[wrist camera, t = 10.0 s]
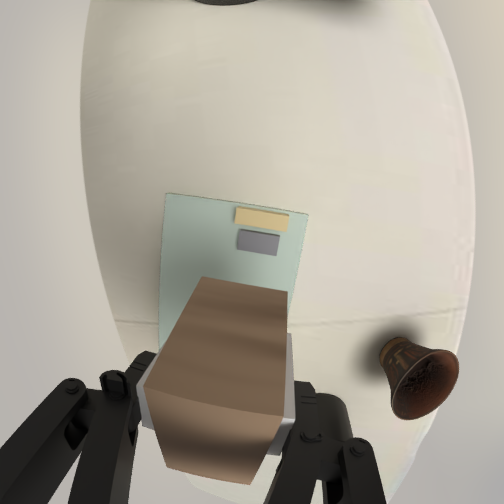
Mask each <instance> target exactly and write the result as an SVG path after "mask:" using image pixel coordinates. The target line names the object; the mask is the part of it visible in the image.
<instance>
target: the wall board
mask: <svg viewBox="0 0 504 504" xmlns="http://www.w3.org/2000/svg"><path fill="white" fill-rule="evenodd" d="M307 221H308V214H304V213H299V212H293V211H287V210H282V209H276V208H270V207H264V206H258V205H251V204H245V203H238V202H232V201H225V200H218V199H211V198H204V197H197V196H189V195H181V194H173V193H166V201H165V210H164V221H163V233H162V246H161V263H160V285H159V350H160V349H161V347H162V346H163V344H164V343H165V341H166V340H167V338H168V337H169V335H170V333H171V331H172V330H173V328H174V326H175V324H176V322H177V320H178V318H179V317H180V315H181V313H182V311H183V309H184V307H185V306H186V304H187V302H188V300H189V298H190V297H191V295H192V293H193V291H194V289H195V287H196V286H197V284H198V282H199V280H200V279H201V277H202V276H204V277H209V278H214V279H220V280H225V281H231V282H236V283H242V284H247V285H253V286H259V287H265V288H270V289H276V290H282V291H288V304H287V317H288V312H289V308H290V304H291V299H292V295H293V290H294V285H295V281H296V276H297V271H298V267H299V262H300V257H301V252H302V247H303V242H304V236H305V231H306V226H307Z"/></svg>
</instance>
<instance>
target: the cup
mask: <svg viewBox="0 0 504 504" xmlns="http://www.w3.org/2000/svg"><path fill="white" fill-rule="evenodd" d="M380 364H381V366H382V367H383V368H384V370H385V373H386V375H387V378H388V381H389V385H390V389H391V407H392V410H393V412H394V414H395V415H396V416H397V417H398V418H400V419H403V420H414V419H418V418H420V417H423V416H425V415H427V414H429V413H430V412H432V411H433V410H435V409H436V408H437V407H438V406H440V405H441V404H442V403H443V402H444V401H445V400H446V398H447V397H448V395H449V394H450V393H451V391H452V390H453V388H454V385H455V383H456V381H457V378H458V374H459V362H458V359H457V357H456V356H455V354H453V353H452V352H450V351H448V350H441V349H429V348H426V347H422V346H419V345H416V344H414V343H412V342H410V341H409V340H407V339H406V338H402V337H399V338H395V339H393V340H391V341H389V342H388V343H387V344H386V345H385V347H384V348H383V349H382V351H381V354H380Z"/></svg>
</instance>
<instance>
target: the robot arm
mask: <svg viewBox="0 0 504 504" xmlns="http://www.w3.org/2000/svg"><path fill="white" fill-rule="evenodd" d="M196 1H199V2H202V3H207V4H215V5H231V4H241V3H247V2H251V1H255V0H196ZM167 339H168V338H167ZM166 341H167V340H166ZM166 341H165V343H166ZM165 343H164V344H163V346H164V345H165ZM163 346H162V347H161V349H160V350H159V352H158V353H157V354H155V353H152V352H148V351H144V352H142V353H141V354H139V355H138V356H137V357H136V358H135V359H134V361H133V362H132V363H131V365H130V367H128V369H127V370H126V371H125V373H124V372H121V371H118V370H110V371H106V372H104V373H102V374H101V376H100V377H99V378H100V382H101V387H102V390H94V389H88V388H86V386H85V384H84V383H83V382H82V381H81V380H79V379H75V378H68V379H65V380H63V381H62V382H61V383H60V384H59V385H58V386H57V387H56V388H55V389H54V390H53V391H52V392H51V393H50V394H49V395H48V396H47V397H46V398H45V399H44V401H43V402H42V403H41V404H40V405H39V406H38V407H37V408H36V409H35V410H34V411H33V413H32V414H31V415H30V416H29V417H28V418H27V419H26V420H25V421H24V422H23V423H22V424H21V426H20V427H19V428H18V429H17V430H16V431H15V432H14V433H13V435H12V436H11V437H10V438H9V439H8V440H7V441H6V442H5V444H4V445H3V446H2V447H1V449H0V504H48V502H49V500H50V499H51V497H52V496H53V494H54V493H55V491H56V490H57V488H58V486H59V485H60V483H61V482H62V480H63V479H64V477H65V476H66V474H67V472H68V471H69V469H70V468H71V466H72V465H73V463H74V462H75V460H76V459H77V457H78V456H79V454H80V453H81V455H80V459H79V463H78V466H77V469H76V473H75V477H74V481H73V484H72V488H71V492H70V496H69V501H68V504H128V498H129V490H130V482H131V475H132V468H133V460H134V455H135V448H136V443H137V437H138V424H139V422H140V421H142V426H144V427H147V428H150V429H153V430H154V426H153V423H152V419H151V416H150V412H149V408H148V405H147V401H146V397H145V393H144V389H143V385H144V383H145V381H146V379H147V377H148V375H149V373H150V371H151V369H152V368H153V366H154V364H155V362H156V360H157V358H158V356H159V354H160V352H161V350H162V348H163ZM316 404H317V402H316V394H315V389H314V388H313V386H312V385H311V383H310V382H301V381H294V373H293V355H292V338H291V333H287V350H286V379H285V401H284V417H283V419H282V421H281V424H280V426H279V428H278V430H277V432H276V434H275V437H274V439H273V441H272V443H271V445H270V447H269V449H268V451H267V453H266V454H268V455H278V456H280V454H281V452H282V459H281V461H280V463H279V465H278V467H277V469H276V474H275V476H274V479H273V481H272V484H271V486H270V489H269V491H268V494H267V496H266V499H265V501H264V503H263V504H310V503H311V499H312V496H313V492H314V488H315V484H316V480H317V479H318V480H322V490H323V504H386V500H385V495H384V491H383V487H382V483H381V479H380V475H379V471H378V467H377V463H376V459H375V455H374V451H373V448H372V446H371V444H370V443H369V442H368V441H367V440H364V439H362V438H356V437H355V438H350V439H348V440H347V441H345V443H344V442H341V441H337V440H334V439H331V438H329V437H327V436H326V435H325V434H324V432H323V430H321V429H320V426H319V417H318V409H317V405H316ZM81 451H82V452H81Z"/></svg>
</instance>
